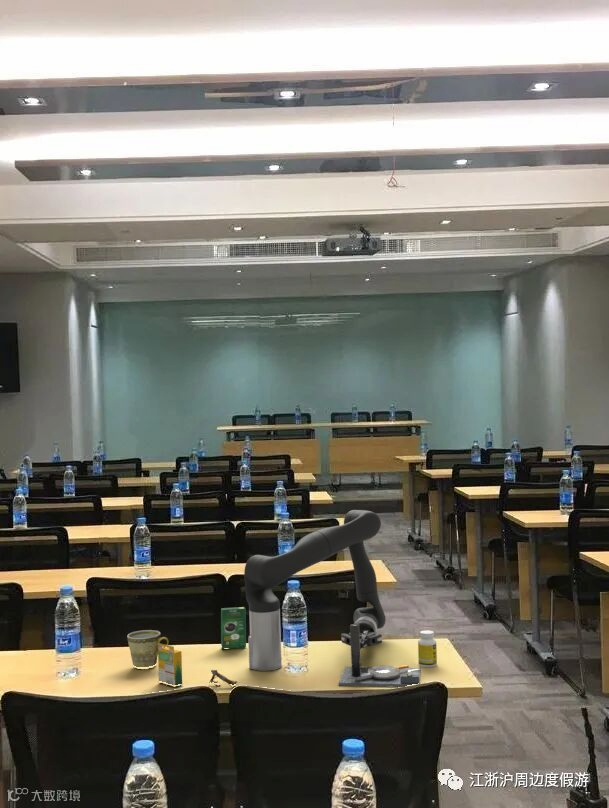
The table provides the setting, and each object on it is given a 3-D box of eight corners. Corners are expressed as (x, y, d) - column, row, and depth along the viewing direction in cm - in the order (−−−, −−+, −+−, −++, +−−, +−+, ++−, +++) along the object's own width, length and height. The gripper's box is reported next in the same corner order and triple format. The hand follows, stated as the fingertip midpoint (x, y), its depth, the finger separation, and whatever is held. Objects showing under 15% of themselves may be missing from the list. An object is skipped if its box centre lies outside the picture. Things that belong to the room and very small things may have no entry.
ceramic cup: (122, 671, 257) (121, 638, 257) (136, 661, 266) (135, 629, 267) (162, 673, 254) (161, 639, 254) (175, 663, 263) (174, 630, 264)
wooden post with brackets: (208, 681, 242) (213, 666, 241) (232, 694, 239) (237, 680, 238) (205, 682, 240) (210, 668, 239) (229, 696, 237) (234, 682, 237)
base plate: (338, 685, 236) (338, 671, 236) (345, 669, 251) (344, 656, 251) (419, 687, 232) (418, 672, 233) (420, 670, 247) (420, 657, 247)
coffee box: (245, 645, 281) (244, 605, 281) (247, 648, 278) (245, 607, 278) (221, 648, 279) (219, 607, 279) (222, 650, 276) (221, 609, 276)
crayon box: (183, 685, 241) (181, 644, 241) (174, 688, 239) (173, 646, 239) (166, 680, 246) (165, 640, 246) (158, 683, 244) (157, 642, 244)
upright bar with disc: (399, 665, 249) (397, 613, 249) (416, 673, 241) (414, 619, 241) (344, 676, 241) (342, 622, 241) (360, 685, 233) (358, 629, 233)
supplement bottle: (436, 668, 249) (435, 634, 249) (418, 667, 250) (416, 634, 250) (437, 662, 254) (436, 629, 255) (419, 662, 256) (418, 629, 256)
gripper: (342, 618, 268) (335, 633, 251) (385, 619, 266) (380, 633, 249) (343, 642, 268) (336, 658, 251) (385, 643, 266) (381, 659, 249)
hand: (358, 646), depth 250 cm, fingers closed
